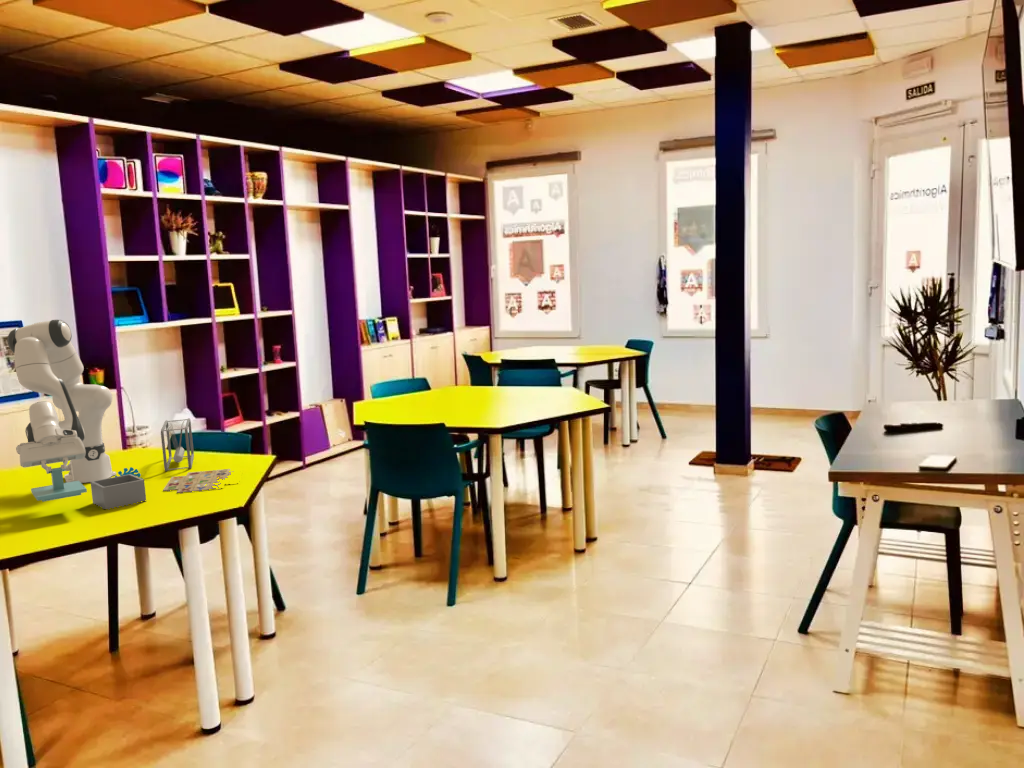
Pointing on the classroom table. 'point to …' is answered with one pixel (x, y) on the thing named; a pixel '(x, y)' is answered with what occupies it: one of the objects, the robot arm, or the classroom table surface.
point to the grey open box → (118, 491)
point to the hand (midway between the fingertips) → (56, 471)
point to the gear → (129, 472)
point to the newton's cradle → (179, 451)
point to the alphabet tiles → (196, 481)
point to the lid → (58, 488)
